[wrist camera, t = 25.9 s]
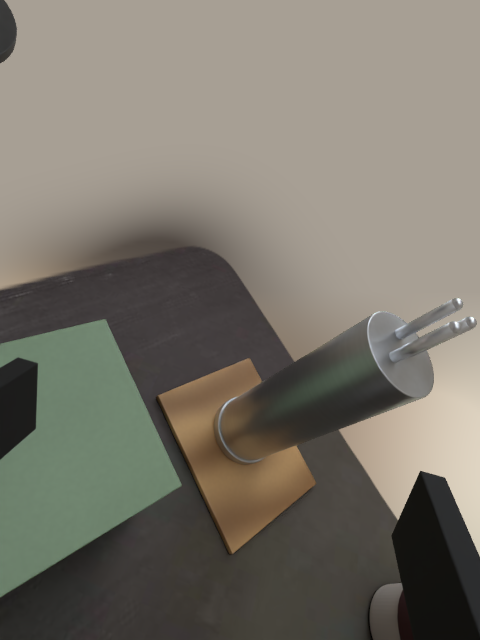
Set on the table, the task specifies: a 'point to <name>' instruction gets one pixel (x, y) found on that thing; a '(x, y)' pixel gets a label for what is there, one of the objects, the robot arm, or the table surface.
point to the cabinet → (76, 452)
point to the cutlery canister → (336, 385)
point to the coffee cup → (390, 614)
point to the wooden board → (221, 472)
